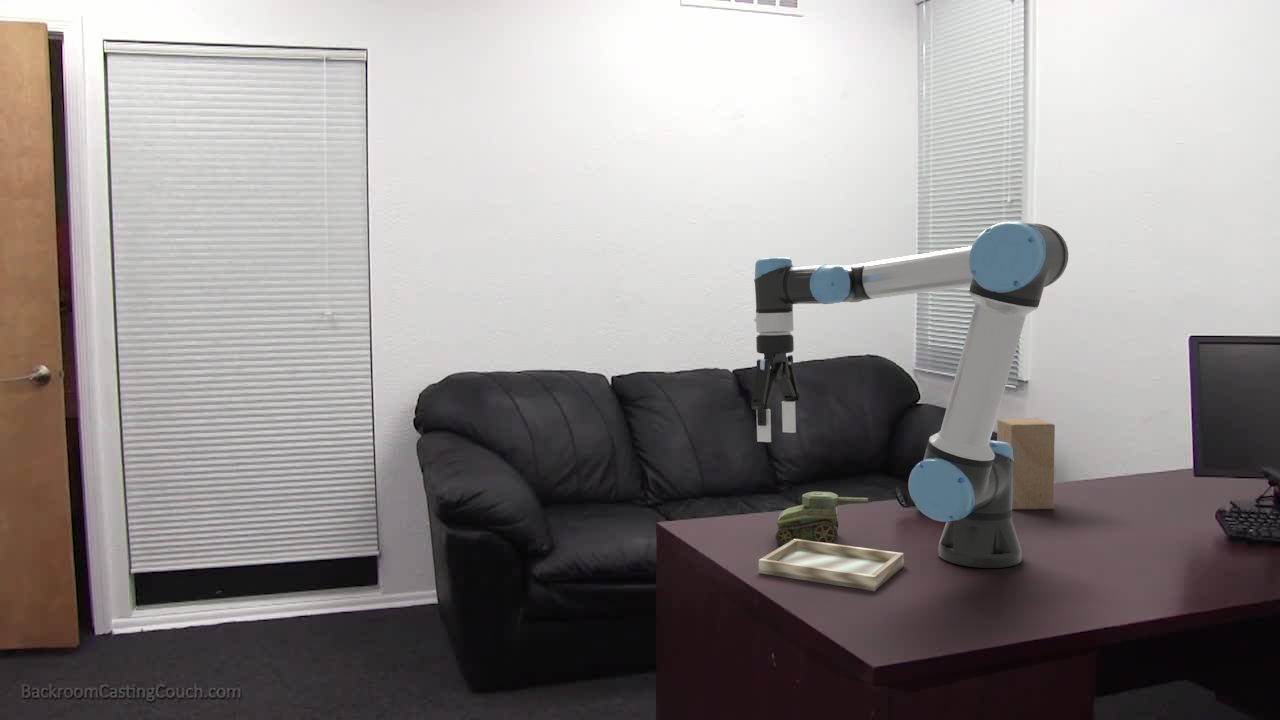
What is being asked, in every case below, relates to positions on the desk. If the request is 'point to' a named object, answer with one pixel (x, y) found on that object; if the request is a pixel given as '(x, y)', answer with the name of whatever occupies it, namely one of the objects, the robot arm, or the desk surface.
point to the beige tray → (832, 564)
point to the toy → (813, 518)
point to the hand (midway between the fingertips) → (777, 437)
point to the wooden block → (1030, 461)
